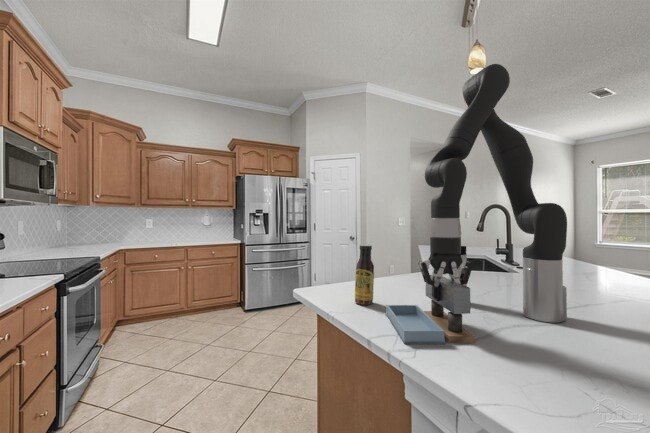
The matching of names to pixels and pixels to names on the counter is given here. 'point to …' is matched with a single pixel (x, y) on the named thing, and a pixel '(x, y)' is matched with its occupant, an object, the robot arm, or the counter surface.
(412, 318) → the slot tray
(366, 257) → the sauce bottle
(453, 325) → the peg rack
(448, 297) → the steel bar
